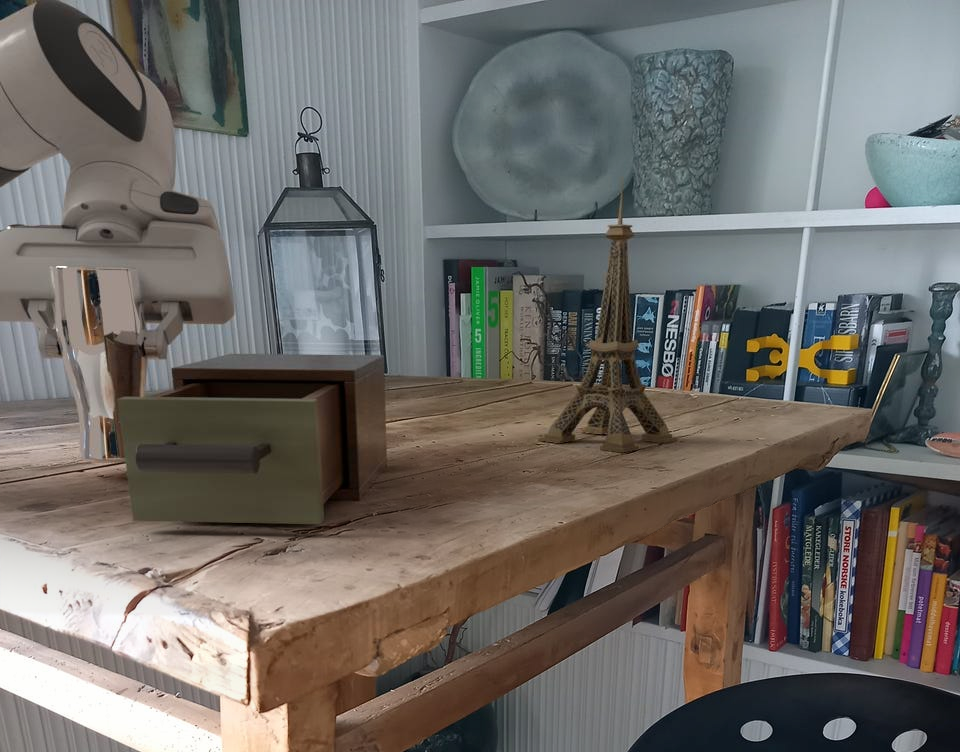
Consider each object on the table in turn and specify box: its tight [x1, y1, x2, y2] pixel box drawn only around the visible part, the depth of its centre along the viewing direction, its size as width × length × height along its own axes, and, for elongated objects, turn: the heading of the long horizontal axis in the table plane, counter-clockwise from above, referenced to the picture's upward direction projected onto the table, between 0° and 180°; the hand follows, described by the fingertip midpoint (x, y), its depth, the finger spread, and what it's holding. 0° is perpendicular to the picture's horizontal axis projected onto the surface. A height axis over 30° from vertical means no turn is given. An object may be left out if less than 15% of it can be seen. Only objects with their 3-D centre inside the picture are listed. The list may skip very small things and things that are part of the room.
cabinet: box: [170, 353, 388, 501], centre depth 77 cm, size 15×14×10 cm
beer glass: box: [50, 266, 148, 464], centre depth 77 cm, size 7×7×15 cm
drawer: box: [117, 381, 347, 525], centre depth 63 cm, size 18×12×8 cm
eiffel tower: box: [537, 177, 679, 454], centre depth 94 cm, size 11×11×25 cm
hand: (103, 354), depth 76 cm, fingers closed on beer glass, 7 cm apart
